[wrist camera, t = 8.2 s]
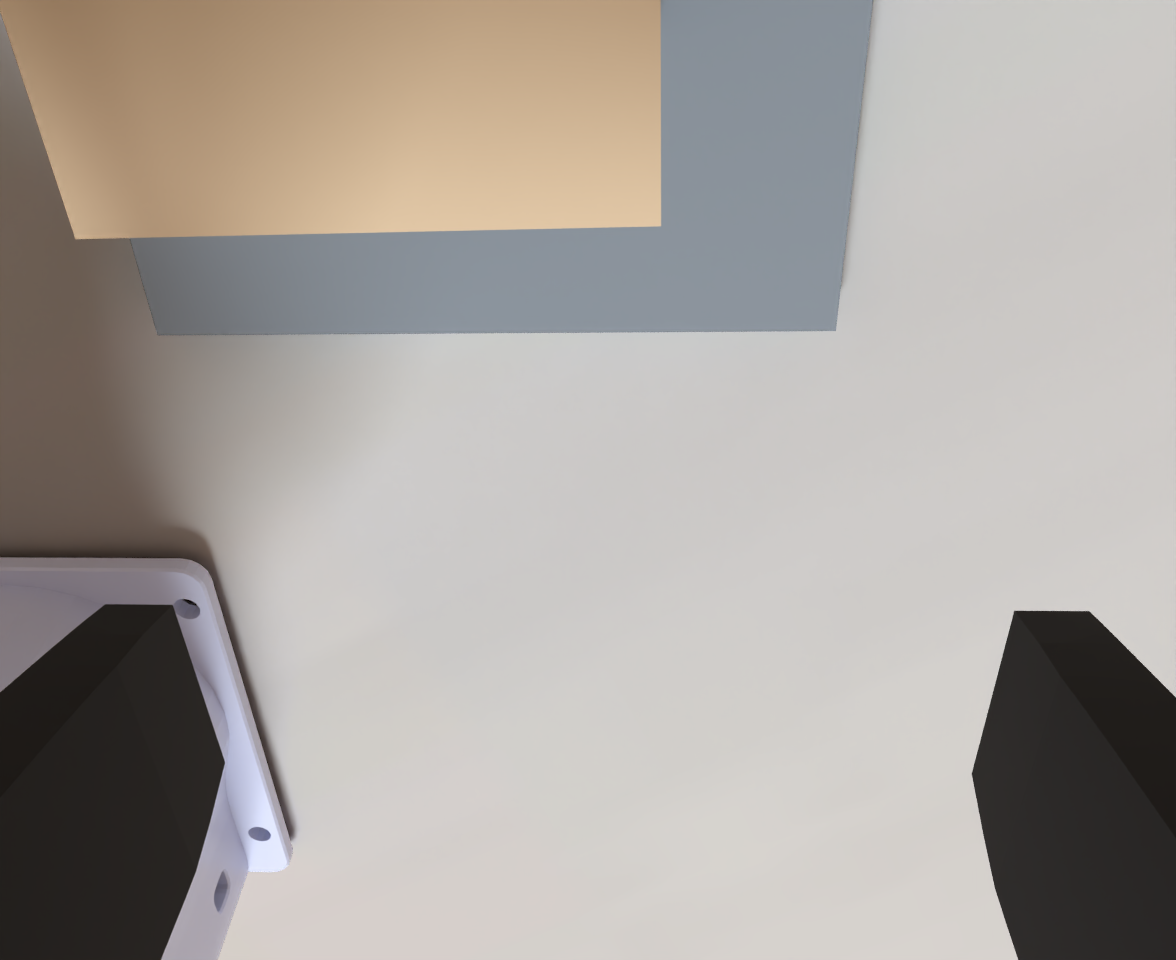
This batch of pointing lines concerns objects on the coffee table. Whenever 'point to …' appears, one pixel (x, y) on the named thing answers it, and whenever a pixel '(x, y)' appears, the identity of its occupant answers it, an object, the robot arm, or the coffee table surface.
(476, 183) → the stool
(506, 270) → the slate mat
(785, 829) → the coffee table surface
